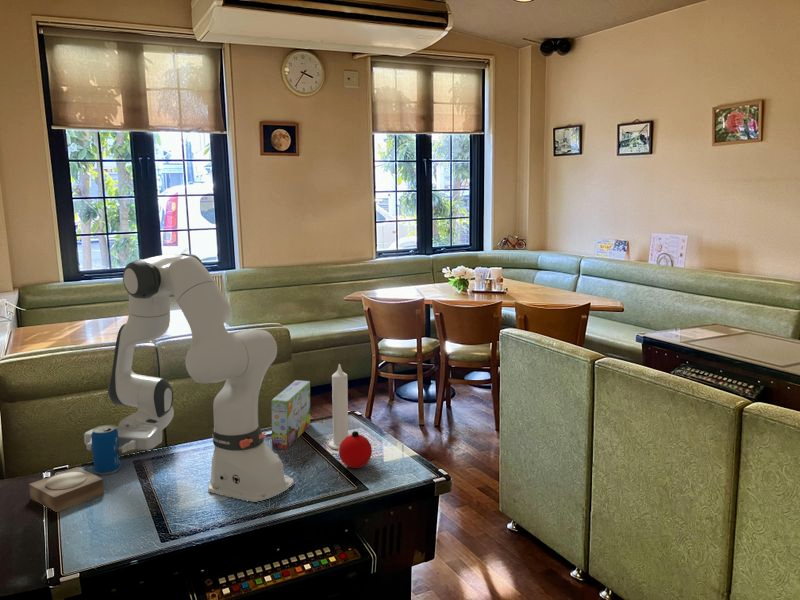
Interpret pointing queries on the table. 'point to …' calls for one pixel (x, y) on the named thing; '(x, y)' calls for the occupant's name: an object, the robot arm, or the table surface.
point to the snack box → (290, 414)
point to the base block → (66, 489)
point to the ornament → (355, 450)
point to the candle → (339, 408)
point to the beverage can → (105, 449)
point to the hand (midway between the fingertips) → (104, 448)
